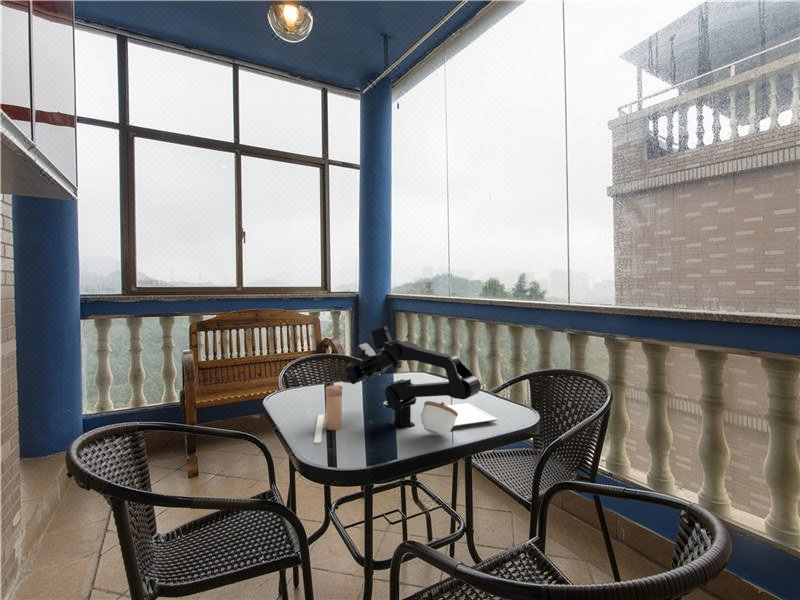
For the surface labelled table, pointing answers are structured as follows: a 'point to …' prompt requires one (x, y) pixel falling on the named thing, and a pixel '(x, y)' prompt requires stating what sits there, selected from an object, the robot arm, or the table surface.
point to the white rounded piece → (438, 418)
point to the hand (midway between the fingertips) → (350, 377)
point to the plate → (470, 415)
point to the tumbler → (333, 407)
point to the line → (319, 429)
